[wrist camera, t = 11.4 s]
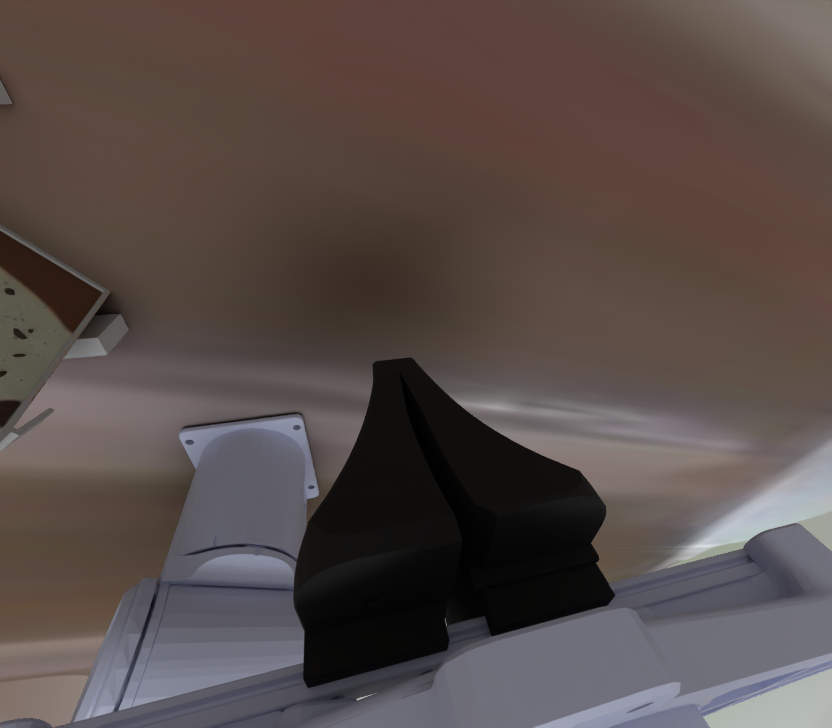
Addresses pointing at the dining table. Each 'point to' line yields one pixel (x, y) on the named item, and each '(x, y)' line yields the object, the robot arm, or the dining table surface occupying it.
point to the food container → (36, 324)
